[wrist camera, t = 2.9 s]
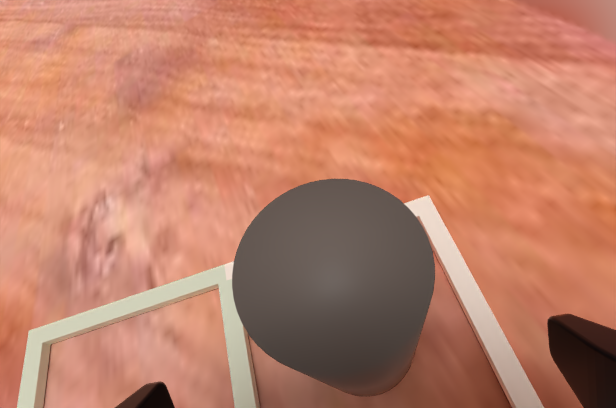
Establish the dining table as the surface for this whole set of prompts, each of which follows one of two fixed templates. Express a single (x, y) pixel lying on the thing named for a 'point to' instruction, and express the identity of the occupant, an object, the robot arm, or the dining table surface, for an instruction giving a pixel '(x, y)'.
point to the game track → (237, 341)
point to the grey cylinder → (336, 284)
